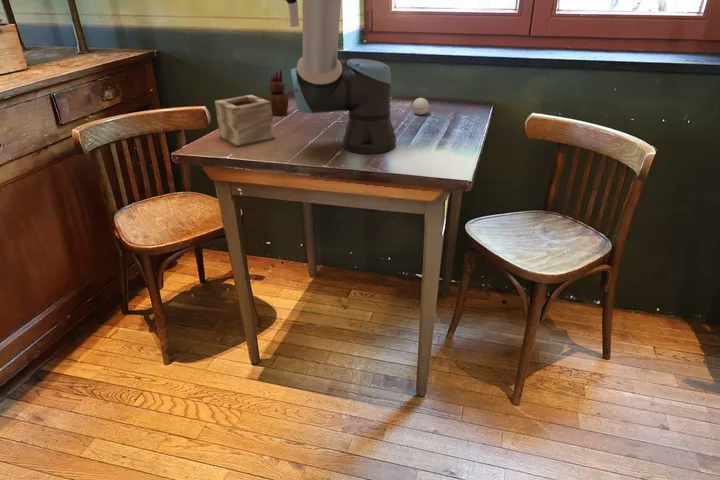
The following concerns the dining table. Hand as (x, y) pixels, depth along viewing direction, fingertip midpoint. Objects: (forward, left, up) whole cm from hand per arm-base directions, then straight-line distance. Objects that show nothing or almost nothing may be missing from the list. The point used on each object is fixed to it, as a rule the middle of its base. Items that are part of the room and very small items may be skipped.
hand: (306, 28), depth 154 cm
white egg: (-16, -33, -29) cm, 47 cm away
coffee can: (+20, -24, -29) cm, 43 cm away
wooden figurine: (+16, +3, -29) cm, 33 cm away
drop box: (-1, +24, -29) cm, 37 cm away
